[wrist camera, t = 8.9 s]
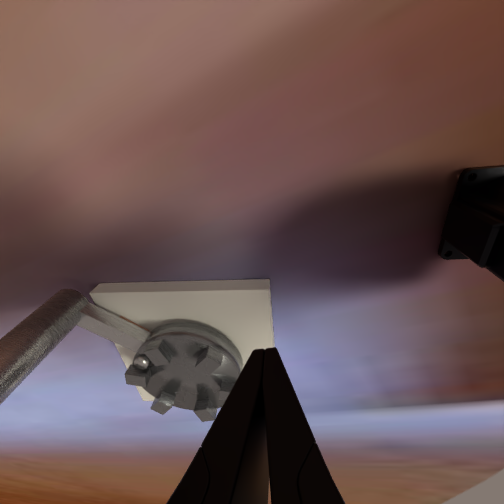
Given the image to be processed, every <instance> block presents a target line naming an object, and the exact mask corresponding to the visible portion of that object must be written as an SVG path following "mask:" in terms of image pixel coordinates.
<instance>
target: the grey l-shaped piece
mask: <svg viewBox="0 0 504 504" xmlns="http://www.w3.org/2000/svg"><path fill="white" fill-rule="evenodd" d="M76 325H78V326H80V327H82V328H84V329H86V330H89V331H91V332H93V333H95V334H97V335H99V336H101V337H104V338H106V339H108V340H110V341H112V342H114V343H116V344H119V345H121V346H123V347H125V348H127V349H129V350H131V351H133V352H136V355H135V356H134V359H133V363H132V364H130V366H129V368H128V370H127V371H126V373H125V378H126V384H130V385H135V386H141V387H142V388H143V389H144V390H146V391H147V392H148V393H149V394H150V395H152V396H153V397H155V399H154V401H153V404H152V406H151V408H150V409H152V410H154V411H156V412H158V413H160V414H162V415H163V414H165V413H166V412H167V411H168V410H169V409H170V408H172V406H175V407H179V408H183V409H189V410H194V413H195V414H196V415H197V416H198V417H199V418H200V420H201V421H202V422H204V421H211V420H215V418H216V413H217V408H220V407H222V406H223V404H224V402H225V400H226V399H227V397H228V395H229V393H230V391H231V389H232V388H233V386H234V384H235V382H236V380H237V378H238V377H239V375H240V373H241V371H242V369H243V360H242V356H241V354H240V352H239V350H238V349H237V347H236V346H235V345H234V344H233V342H232V341H231V340H229V339H228V338H227V337H226V336H224V335H223V334H221V333H220V332H218V331H216V330H214V329H212V328H209V327H207V326H204V325H200V324H196V323H189V322H173V323H168V324H164V325H161V326H159V327H157V328H155V329H153V330H152V331H151V332H148V331H146V330H144V329H142V328H140V327H138V326H136V325H134V324H132V323H130V322H128V321H126V320H124V319H122V318H120V317H118V316H116V315H114V314H112V313H110V312H108V311H106V310H104V309H101V308H99V307H97V306H95V305H93V304H91V303H89V301H88V300H87V299H86V297H85V296H83V295H82V294H81V293H79V292H77V291H75V290H72V289H62V290H60V291H59V292H58V293H56V294H55V295H54V296H53V297H51V298H50V299H49V300H48V301H46V302H45V303H44V304H43V305H42V306H40V307H39V308H38V309H37V310H35V311H34V312H33V313H32V314H30V315H29V316H28V317H27V318H26V319H24V320H23V321H22V322H21V323H19V324H18V325H17V326H16V327H14V328H13V329H12V330H11V331H10V332H8V333H7V334H6V335H5V336H3V337H2V338H1V339H0V405H1V403H2V402H3V401H4V400H5V399H6V398H7V397H8V396H9V395H10V394H11V393H12V392H13V391H14V390H15V389H16V388H17V387H18V386H19V385H20V384H21V383H22V381H23V380H24V379H25V378H26V377H27V376H28V375H29V374H30V373H31V372H32V371H33V370H34V369H35V368H36V367H37V366H38V365H39V364H40V363H41V362H42V360H43V359H44V358H45V357H46V356H47V355H48V354H49V353H50V352H51V351H52V350H53V349H54V348H55V347H56V346H57V345H58V344H59V343H60V342H61V341H62V340H63V338H64V337H65V336H66V335H67V334H68V333H69V332H70V331H71V330H72V329H73V328H74V327H75V326H76Z"/></svg>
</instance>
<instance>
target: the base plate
mask: <svg viewBox="0 0 504 504" xmlns="http://www.w3.org/2000/svg"><path fill="white" fill-rule="evenodd" d="M90 295H91V297H92V299H93V301H94V303H95V305H96V306H97V307H99V308H101V309H104V310H106V311H108V312H110V313H112V314H114V315H116V316H118V317H120V318H122V319H124V320H126V321H128V322H130V323H132V324H134V325H136V326H138V327H140V328H142V329H144V330H146V331H148V332H151V331H152V330H153V329H155V328H157V327H159V326H161V325H164V324H168V323H173V322H189V323H196V324H200V325H204V326H207V327H209V328H212V329H214V330H216V331H218V332H220V333H221V334H223V335H224V336H226V337H227V338H228V339H229V340H231V341H232V342H233V344H234V345H235V346H236V347H237V349H238V350H239V352H240V354H241V356H242V360H243V367H244V366H245V364H246V362H247V360H248V358H249V356H250V355H251V353H252V351H253V350H254V349H262V348H263V349H266V348H272V347H275V344H274V331H273V318H272V305H271V292H270V279H248V280H208V281H168V282H128V283H99V284H98V285H97V286H96V287H95V288H94V289H93V290H92V291H91V292H90ZM115 345H116V347H117V349H118V351H119V353H120V355H121V357H122V359H123V361H124V363H125V365H126V367H127V369H128V368H129V366H130V364H132V363H133V359H134V356H135V355H136V352H133V351H131V350H129V349H127V348H125V347H123V346H121V345H119V344H116V343H115ZM136 387H137V389H138V391H139V393H140V395H141V397H142V399H143V401H154V399H155V397H153V396H152V395H150V394H149V393H148V392H147V391H146V390H144V389H143V388H142V387H141V386H136Z"/></svg>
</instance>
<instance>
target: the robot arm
mask: <svg viewBox="0 0 504 504" xmlns="http://www.w3.org/2000/svg"><path fill="white" fill-rule="evenodd" d="M472 173H473V176H472V177H471V178H470V179H469V180H468V176H469V175H470V174H472ZM441 236H442V240H441V243H440V247H439V250H438V254H439V256H440V257H441V258H443V259H446V260H451V259H470V260H471V261H473V262H474V263H475V264H477V265H478V266H479V267H481V268H486V269H488V270H489V271H490V272H491V273H493V274H494V275H495V276H497V277H498V278H499V279H501V280H502V281H503V282H504V165H503V166H490V167H476V168H468V169H466V170H464V171H463V172H462V173H461V175H460V177H459V180H458V184H457V187H456V191H455V194H454V198H453V201H452V203H451V204H450V206H449V210H448V214H447V217H446V221H445V224H444V228H443V231H442V235H441ZM447 251H449V252H448V253H447V254H445V253H446V252H447ZM201 446H202V447H200V448H199V450H198V451H197V453H196V455H195V457H194V459H193V461H192V462H191V464H190V466H189V468H188V469H187V471H186V473H185V474H184V476H183V478H182V480H181V481H180V483H179V484H178V486H177V488H176V489H175V491H174V492H173V494H172V495H171V497H170V499H169V500H168V502H167V503H166V504H268V488H269V478H270V491H271V504H345V502H344V500H343V498H342V496H341V494H340V492H339V491H338V489H337V487H336V485H335V483H334V481H333V479H332V477H331V475H330V472H329V470H328V468H327V466H326V464H325V461H324V459H323V457H322V455H321V452H320V450H319V447H318V445H317V444H316V441H315V438H314V436H313V433H312V431H311V429H310V426H309V424H308V422H307V419H306V417H305V414H304V412H303V410H302V407H301V405H300V403H299V400H298V398H297V395H296V393H295V391H294V388H293V386H292V384H291V381H290V379H289V376H288V374H287V372H286V369H285V367H284V365H283V362H282V360H281V357H280V355H279V353H278V350H277V348H275V347H272V348H266V349H263V348H262V349H254V350H253V351H252V353H251V355H250V356H249V358H248V360H247V362H246V364H245V366H244V367H243V369H242V371H241V373H240V375H239V377H238V378H237V380H236V382H235V384H234V386H233V388H232V389H231V391H230V393H229V395H228V397H227V399H226V400H225V402H224V404H223V406H222V408H221V410H220V411H219V413H218V415H217V417H216V419H215V421H214V422H213V424H212V426H211V428H210V430H209V431H208V433H207V435H206V437H205V439H204V441H203V442H202V444H201Z"/></svg>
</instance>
